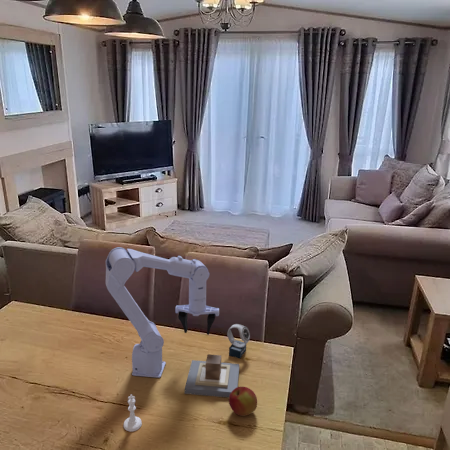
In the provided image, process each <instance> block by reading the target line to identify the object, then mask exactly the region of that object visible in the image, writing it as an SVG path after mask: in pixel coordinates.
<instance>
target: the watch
mask: <svg viewBox="0 0 450 450" xmlns="http://www.w3.org/2000/svg"><path fill="white" fill-rule="evenodd" d="M232 329H238V330H237V331H238V332H239V337H240V339H241V340H236V339H235V337H234V336H233V333H232ZM226 335H227V338H228V341H229V343H230V344H231V345H230V346H229V348H228V356H230V357H233V358H236V359H239V360H240V359H241V358H242V357H243V356H244V354H245V353H246V351H247V345H248V343H249V341H250V339H251V333H250V330H249V328H248V327H247V326H244V325H242V324H241V323H240V324H239V323H235V324H232V325H231V326H230V327H229V328H228V330H227V333H226Z"/></svg>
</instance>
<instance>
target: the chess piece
mask: <svg viewBox="0 0 450 450" xmlns="http://www.w3.org/2000/svg"><path fill="white" fill-rule="evenodd" d="M127 403H128V405H129V406H128V408H127V410H128V411H129V417H127V418H126V419H125V420H124V422H123V429H124V430H126V431H128V432H136V431H138V430H139V429H141V427H142V425H143V424H142V423H143V422H142V419H141V418H140V417H139V416H136V415H135V414H136V413H135V410H136V409H137V406H136V405H135V404H136V396H134V395H133V394H132V393H131V394H130V396H128V397H127Z"/></svg>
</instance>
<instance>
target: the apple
mask: <svg viewBox="0 0 450 450" xmlns="http://www.w3.org/2000/svg"><path fill="white" fill-rule="evenodd" d="M228 404H229V407H230V409H231V410H232V411H233V413H235V414H236V415H238V416H239V417H240V416H242V417H243V416H244V417H245V416H249V415H250V414H253V413H254V412H255V411H256V409H257V407H258V397H257V395H256V393H255V392H254V391H253V390H252V389H251V388H250V387H246V386H238V387H237V388H235V389H234V390H233V391H232V392H231V393H230V396H229V397H228Z"/></svg>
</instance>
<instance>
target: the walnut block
mask: <svg viewBox="0 0 450 450" xmlns="http://www.w3.org/2000/svg"><path fill="white" fill-rule="evenodd" d="M205 359H206V360H205V361H206V373H205V379H210V380H220V374H221V363H222V354H221V355H219V354H209V353H208V354H207V355H206V358H205Z"/></svg>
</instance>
